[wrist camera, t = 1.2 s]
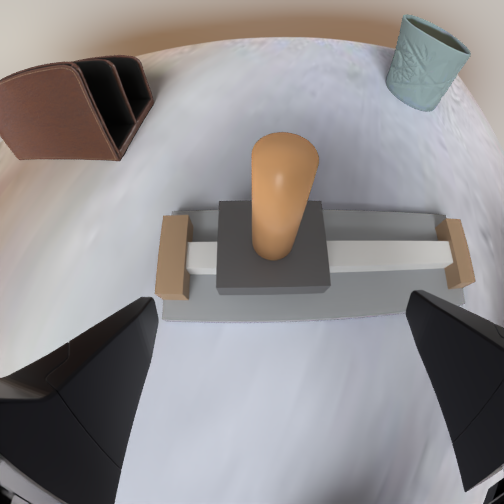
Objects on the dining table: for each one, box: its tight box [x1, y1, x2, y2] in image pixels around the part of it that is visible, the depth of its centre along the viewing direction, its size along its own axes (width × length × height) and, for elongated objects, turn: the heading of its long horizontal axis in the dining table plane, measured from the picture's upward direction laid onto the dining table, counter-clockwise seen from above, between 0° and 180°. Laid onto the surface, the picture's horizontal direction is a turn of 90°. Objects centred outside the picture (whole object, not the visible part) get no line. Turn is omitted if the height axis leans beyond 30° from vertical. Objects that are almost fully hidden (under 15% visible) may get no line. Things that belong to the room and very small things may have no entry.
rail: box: [155, 210, 475, 323], centre depth 21 cm, size 26×9×3 cm, turn 91°
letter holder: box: [0, 55, 154, 161], centre depth 23 cm, size 10×20×14 cm, turn 79°
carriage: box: [216, 132, 331, 295], centre depth 15 cm, size 7×6×10 cm
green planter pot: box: [386, 15, 471, 111], centre depth 27 cm, size 10×10×12 cm
